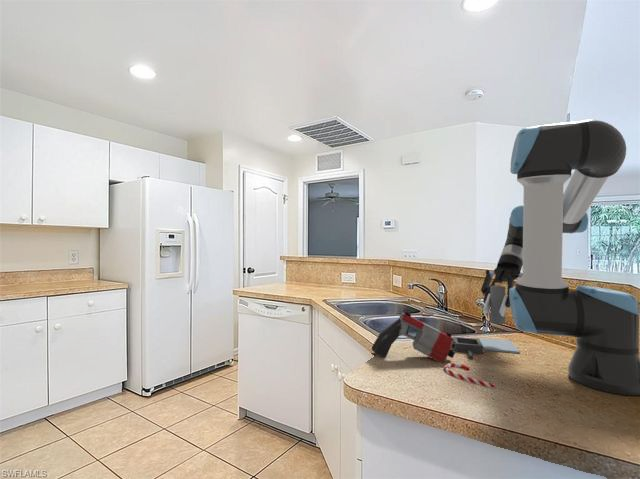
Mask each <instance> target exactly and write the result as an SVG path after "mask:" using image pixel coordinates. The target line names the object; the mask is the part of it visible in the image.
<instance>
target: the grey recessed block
mask: <svg viewBox="0 0 640 479" xmlns="http://www.w3.org/2000/svg"><path fill="white" fill-rule="evenodd" d="M453 339H454V342H456V345H455V347H454V348H453V349H454V351H455V352H461V353H467V355H468V359H469V360H473V357H474V355H473V354H480V355H481V354H484V352H483V351H484V349H483V345H482V344H481V342H480V340H479V338H474V337H472V338H471V337H463V336H462V337H461V336H453Z"/></svg>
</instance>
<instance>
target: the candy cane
mask: <svg viewBox="0 0 640 479" xmlns="http://www.w3.org/2000/svg"><path fill="white" fill-rule="evenodd" d="M453 368H459V369H463V370H464V371H471V368H470V367H469V366H466V365H464V364H461V363H453V362H452V363H448V364H445V365H444V366H443V371H444V373H446V374H447V375H450V376H452V377H454V378H457V379H459V380H463V381H465V382H468V383H471V384H476V385H479V386H483V387H486V388H490V389H495V388H496V385H495V383H491V382H487V381H484V380H480V379H477V378H473V377H469V376H467V375H463V374H460V373H457V372H455V371H452V370H451V369H453Z"/></svg>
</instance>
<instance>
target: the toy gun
mask: <svg viewBox="0 0 640 479" xmlns="http://www.w3.org/2000/svg"><path fill="white" fill-rule="evenodd" d="M410 328H411V329H414V330H416V333H415V335H413V334H412V333H409V330H410ZM401 335H403V336H405V337H406V338H409V339H411V340H412V341H413V342H412V347H413V349H414V350H416V351H418V352H419V353H421V354H423V355H425V356H427V357H429V358H431V359H433V360H434V361H436V362H439V363H445V362H446V361H447V359H448V358H447V357H449V358H454V356H455V354H456V351H455V350H453V349H454V347H455V345H456V342H454V339H453V337H454V336H453V337H452V334H451V333H449V332H446V333H444V332H442V331H441V330H439V329H437V328H435V327H433V326H430V325H428V324H427V323H426V322H423V321H421V320H419V319H418V318H415V317H413V316H412V314H411V313H410V312H408V311H407V310H406V311H405V312H402V313H400V315H399V318H398V319H396V320H395V321H393V322H392V323H391V324H390V325H388V326H387V327H386V328H384V329H383V330H382V331H381V332H379V334H378V336H377V337H376V339H375V341H374V343H373V344H372V345H371V350H372V352H374V354H376V355H378V356H380V357H383V358H386V357H387V356H388V353H389V351H390V349H391V348H392V346H393V344H394V343H395V341H396V340H397V339H398V338H399V337H400V336H401Z"/></svg>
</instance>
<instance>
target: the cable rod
mask: <svg viewBox="0 0 640 479" xmlns="http://www.w3.org/2000/svg"><path fill="white" fill-rule="evenodd" d="M505 295H506V287H505V286H502V283H495V286H490V309H489V311H490V313H489V314H490V323H491V324H494V325H495V324H497V325H505V324H506V314H505V315H504V317H503V316H501V314H500V312H499V310H500V307H501V304H502V301H503V298H504V296H505Z"/></svg>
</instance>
